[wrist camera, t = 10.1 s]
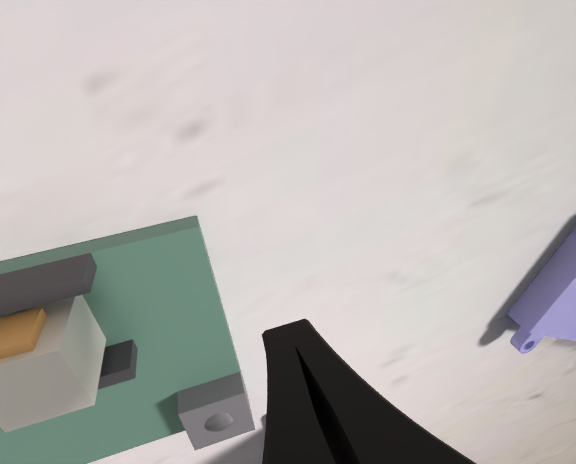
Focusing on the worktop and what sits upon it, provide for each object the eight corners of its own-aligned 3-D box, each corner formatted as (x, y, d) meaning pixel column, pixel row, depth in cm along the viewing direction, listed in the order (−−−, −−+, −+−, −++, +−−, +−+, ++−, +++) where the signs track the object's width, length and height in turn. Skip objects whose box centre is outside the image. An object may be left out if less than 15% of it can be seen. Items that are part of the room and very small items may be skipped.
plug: (106, 339, 20) (94, 404, 16) (33, 359, 19) (5, 432, 16) (73, 279, 17) (52, 341, 14) (-11, 300, 17) (-53, 370, 13)
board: (247, 393, 27) (256, 434, 24) (-10, 478, 24) (-32, 536, 21) (196, 215, 19) (202, 248, 16) (-200, 308, 16) (-273, 367, 13)
